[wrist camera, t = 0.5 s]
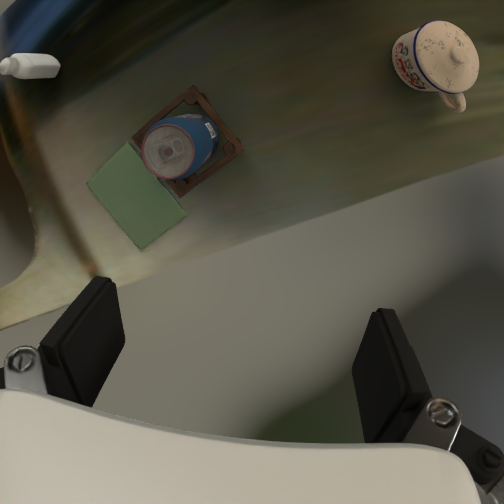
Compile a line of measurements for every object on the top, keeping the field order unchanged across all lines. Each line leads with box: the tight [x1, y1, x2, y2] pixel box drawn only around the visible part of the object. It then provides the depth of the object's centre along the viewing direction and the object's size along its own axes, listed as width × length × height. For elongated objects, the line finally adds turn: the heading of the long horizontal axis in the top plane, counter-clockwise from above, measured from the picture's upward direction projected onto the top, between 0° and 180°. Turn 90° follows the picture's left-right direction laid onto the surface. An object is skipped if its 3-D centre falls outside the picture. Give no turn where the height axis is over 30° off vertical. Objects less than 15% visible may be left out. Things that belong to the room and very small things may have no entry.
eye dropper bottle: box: [0, 53, 60, 79], centre depth 31 cm, size 4×6×12 cm
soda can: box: [141, 113, 218, 181], centre depth 36 cm, size 7×7×12 cm
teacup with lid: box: [392, 21, 479, 113], centre depth 29 cm, size 12×9×12 cm
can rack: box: [132, 85, 244, 198], centre depth 39 cm, size 10×10×5 cm
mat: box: [86, 142, 187, 250], centre depth 46 cm, size 14×10×1 cm
